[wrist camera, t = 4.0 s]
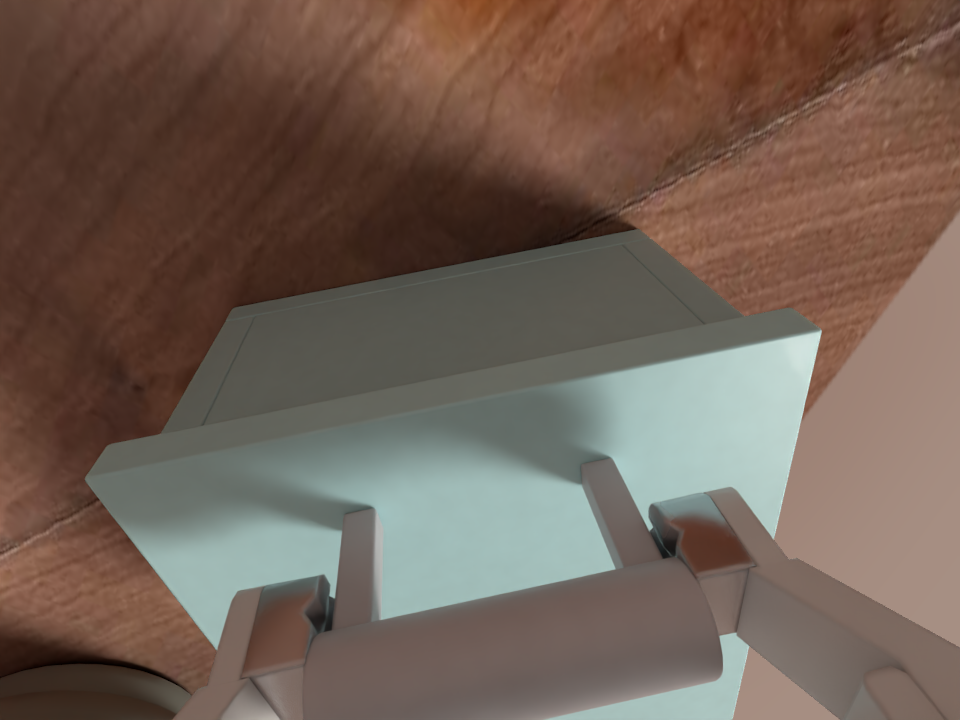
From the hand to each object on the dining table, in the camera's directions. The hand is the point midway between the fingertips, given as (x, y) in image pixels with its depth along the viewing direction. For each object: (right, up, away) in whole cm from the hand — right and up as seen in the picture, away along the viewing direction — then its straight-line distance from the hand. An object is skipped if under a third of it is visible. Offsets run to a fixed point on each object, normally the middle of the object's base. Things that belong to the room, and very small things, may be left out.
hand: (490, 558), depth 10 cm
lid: (+1, -4, +5) cm, 7 cm away
